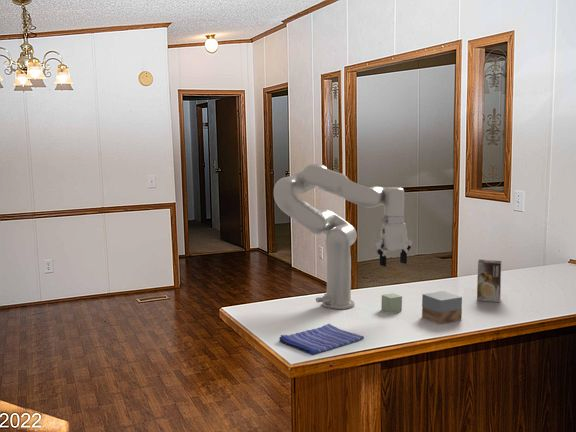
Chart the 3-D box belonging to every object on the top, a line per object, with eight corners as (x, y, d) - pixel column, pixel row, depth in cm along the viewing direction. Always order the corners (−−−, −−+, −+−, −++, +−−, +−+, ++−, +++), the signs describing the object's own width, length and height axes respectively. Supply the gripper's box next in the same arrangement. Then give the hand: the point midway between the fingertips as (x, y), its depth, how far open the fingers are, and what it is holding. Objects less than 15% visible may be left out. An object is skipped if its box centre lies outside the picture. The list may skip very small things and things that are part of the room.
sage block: (390, 313, 234) (390, 298, 234) (381, 309, 239) (381, 294, 238) (401, 311, 237) (402, 296, 236) (392, 308, 242) (393, 293, 241)
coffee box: (500, 298, 255) (502, 260, 253) (499, 302, 249) (501, 263, 247) (477, 296, 258) (479, 259, 256) (476, 300, 252) (477, 261, 250)
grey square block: (440, 312, 220) (440, 300, 220) (422, 306, 229) (422, 294, 229) (461, 309, 225) (462, 297, 225) (442, 302, 234) (443, 291, 233)
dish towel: (276, 343, 203) (276, 334, 202) (328, 328, 218) (328, 320, 217) (312, 357, 190) (312, 348, 189) (364, 341, 205) (364, 332, 204)
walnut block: (440, 325, 221) (440, 312, 220) (422, 317, 230) (422, 306, 229) (461, 321, 226) (461, 309, 225) (442, 314, 234) (442, 302, 234)
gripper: (381, 223, 226) (380, 268, 228) (418, 219, 234) (417, 263, 236) (369, 220, 233) (368, 265, 235) (405, 217, 241) (405, 260, 243)
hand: (393, 264), depth 236 cm, fingers open, 9 cm apart
